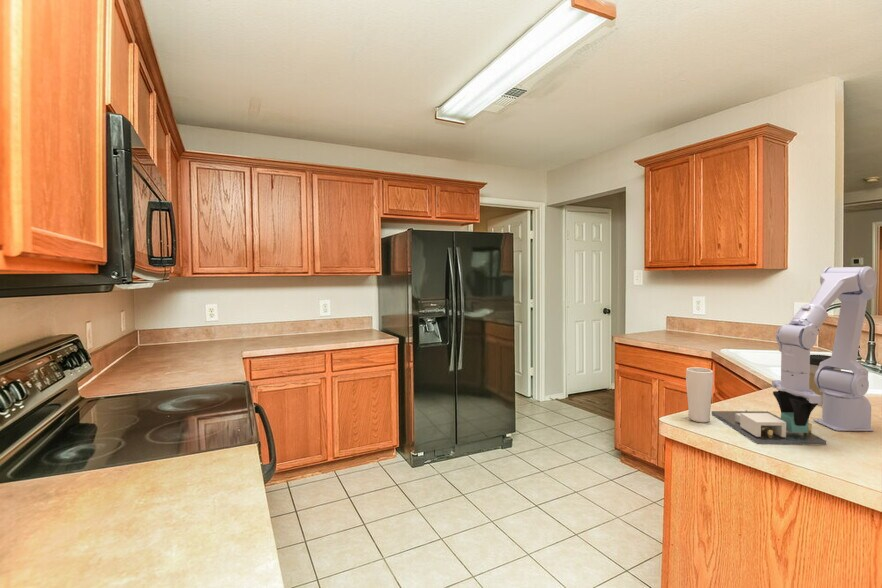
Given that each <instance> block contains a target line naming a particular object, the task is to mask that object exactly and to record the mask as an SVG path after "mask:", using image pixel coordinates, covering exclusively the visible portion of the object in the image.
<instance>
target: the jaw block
mask: <svg viewBox="0 0 882 588" xmlns="http://www.w3.org/2000/svg"><path fill="white" fill-rule="evenodd" d="M780 418H781V420H782V421H784V422H786V430H787V431H789V432H791V433H808V430H809V423H810V422H809V420H810V417H809V418H808V421H807V423H806V426H797V425H795V421H794V412H781V411H780Z"/></svg>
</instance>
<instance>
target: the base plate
mask: <svg viewBox="0 0 882 588" xmlns="http://www.w3.org/2000/svg"><path fill="white" fill-rule="evenodd" d="M735 413H769V414H771V415H772V416H774V417H776V418H778V419H780V420H781V416H778V415H776V414H774V413H772V412H770V411H768V410H767V411H764V410H763V411H761V410H760V411H759V410H757V411H755V410H754V411H753V410H751V411H750V410H748V411H747V410H745V411H744V410H742V411H741V410H739V411H738V410H735V411H734V410H733V411H732V410H712V411H711V415H712V416H713V417H715V418H717V419H718V420H720V421H721V422H723V423H724V424H725V425H728V426H729V427H731V428H732V429H734V430H736V431H737V432H739V433H740V434H741V435H742V436H745V437H746V438H747V439H750V440H751V441H752V442H754V443H756V444H757V445H803V444H826V445H827V440H826V439H825V438H824V439H823V438H822V437H819V436H817V435H816V434H814V433H812V431H813V430H812V427H813V426H812V423H811V422H809V430H808V433H791V432H789V431H787V430H786V437H781V436H779V435H777V434H775V433H774V432H773V429H767V428H765V425H761V437H756V436H755V435H753V434H751V433H750V432H748V431H746V430H745V429H743V428H742V427H740V423H739V422H737V421H736V420H735Z"/></svg>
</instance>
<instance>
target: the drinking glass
mask: <svg viewBox="0 0 882 588" xmlns="http://www.w3.org/2000/svg"><path fill="white" fill-rule="evenodd" d="M685 371H686V372H685V385H686V395H687V396H686V397H687V408H688V409H687V410H688V419H689V420H691V421H693V422H696V423H702V424H703V423H704V424H705V423H709V422H710V420H711V407H712V397H713V388H714V371H713V370H712V369H709V368H706V367H698V366H697V367H696V366H694V367H687V368H686V369H685Z"/></svg>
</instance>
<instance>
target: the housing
mask: <svg viewBox="0 0 882 588" xmlns="http://www.w3.org/2000/svg"><path fill="white" fill-rule="evenodd" d="M735 420H736V421H737V422H739V423H740V427H742V428H743V429H745V430H746V431H748V432H750V433H751V434H753V435H755V436H756V437H761V425H765V428H767V429H773V432H774V433H775V434H777V435H779V436H781V437H786V422H784V421H782V420H780V419H778V418H776V417H774V416H772V415H771V414H769V413H735Z"/></svg>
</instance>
